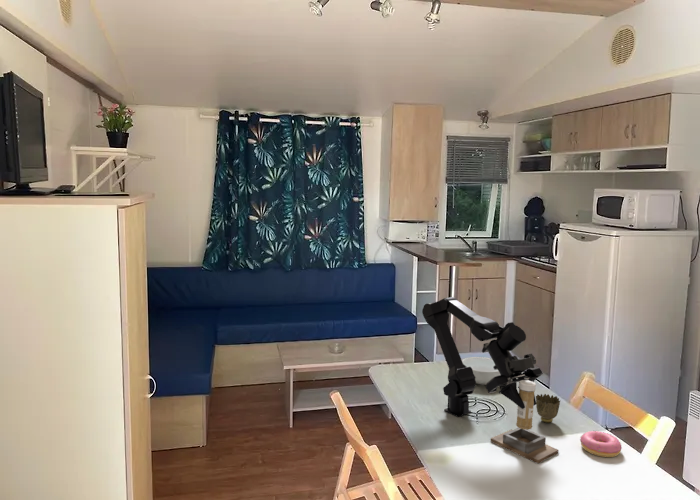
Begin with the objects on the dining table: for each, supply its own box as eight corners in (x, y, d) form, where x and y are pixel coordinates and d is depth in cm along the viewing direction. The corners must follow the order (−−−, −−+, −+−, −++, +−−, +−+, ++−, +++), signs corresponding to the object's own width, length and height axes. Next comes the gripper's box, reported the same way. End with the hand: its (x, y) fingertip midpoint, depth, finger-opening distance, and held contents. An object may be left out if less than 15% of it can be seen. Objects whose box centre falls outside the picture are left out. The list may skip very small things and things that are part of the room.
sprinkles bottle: (534, 430, 154) (538, 385, 153) (519, 430, 154) (523, 385, 152) (528, 423, 159) (531, 379, 157) (513, 423, 158) (516, 379, 157)
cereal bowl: (452, 382, 208) (453, 365, 207) (469, 370, 222) (470, 354, 221) (495, 392, 198) (496, 374, 198) (510, 379, 212) (511, 362, 211)
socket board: (490, 441, 160) (491, 430, 160) (511, 432, 166) (511, 421, 166) (537, 463, 148) (538, 451, 147) (558, 453, 154) (559, 441, 153)
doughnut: (629, 458, 152) (630, 444, 151) (594, 461, 150) (595, 446, 149) (605, 440, 162) (606, 427, 162) (572, 442, 161) (573, 429, 160)
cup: (560, 427, 170) (562, 403, 169) (536, 425, 172) (537, 401, 171) (556, 417, 177) (558, 394, 176) (533, 415, 179) (534, 392, 178)
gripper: (495, 349, 152) (524, 401, 144) (539, 340, 162) (568, 388, 154) (474, 368, 160) (500, 417, 152) (517, 358, 169) (544, 404, 161)
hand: (529, 406), depth 154 cm, fingers closed on sprinkles bottle, 4 cm apart
